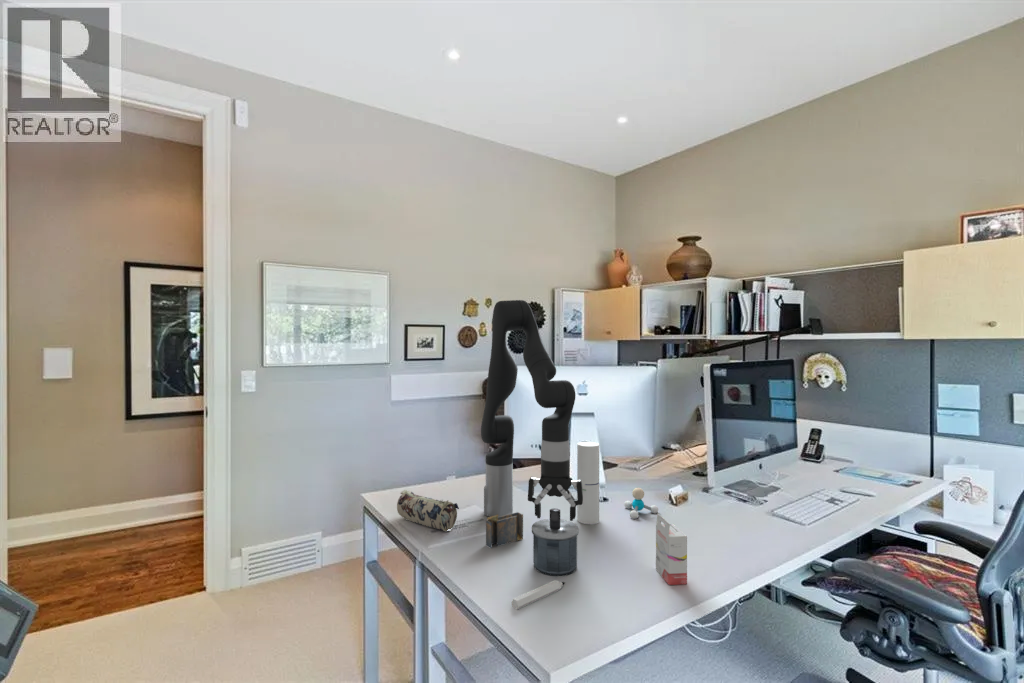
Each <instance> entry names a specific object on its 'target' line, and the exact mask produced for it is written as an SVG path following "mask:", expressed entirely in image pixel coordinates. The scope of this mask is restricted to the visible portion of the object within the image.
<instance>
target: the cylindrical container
mask: <svg viewBox="0 0 1024 683" xmlns="http://www.w3.org/2000/svg"><path fill="white" fill-rule="evenodd" d="M576 444H577V445H576V446H577V447H576V448H577V449H576V450H577V451H576V452H577V453H576V454H577V456H576V460H577V461H576V462H577V464H576V466H577V468H576V470H577V472H576V474H577V475H576V477H577V478H576V479H577V480H578V479H581V480H582V491H583V503H582V505H577V506H576V515H577V516H576V519H577V521H578V522H579V523H580V524H585V525H596V524H598V523H599V522H600V443H598V442H595V441H581V442H580V441H579V442H577V443H576ZM576 499H578V498H577V497H576Z"/></svg>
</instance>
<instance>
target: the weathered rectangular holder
mask: <svg viewBox="0 0 1024 683" xmlns="http://www.w3.org/2000/svg"><path fill="white" fill-rule="evenodd" d="M523 539H524V514H523V513H521V512H519V511H516V512H513V513H512V514H508V515H504V516H500V517H498V514H497V515H496V516H491V517H489V516H488V517H487V519H486V520H485V545H486V547H488V548H490V549H492V548H493V546H492V545H493V544H496V547H500V546H503V545H506V544H510V543H513V542H517V541H520V540H523Z"/></svg>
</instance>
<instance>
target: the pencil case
mask: <svg viewBox="0 0 1024 683" xmlns="http://www.w3.org/2000/svg"><path fill="white" fill-rule="evenodd" d="M399 494H400V496H399V498H398V499H397V502H396V509H397V513H398V515H399V516H401V517H402V518H403V519H405V520H406V521H409V522H413V523H415V522H416V523H415V524H418V523H419V525H421V524H422V526H425V525H426V526H425V527H428V526H430V527H429V528H432V527H433V529H436V528H437V529H438V530H440V529H442V530H441V531H444V532H445V531H447V530H448V529H451V528H452V527H453V528H454V525H455V524H456V522H457V518H458V510H459V509H460V507H459V505H458V503H453V502H452V501H449V500H444V499H443V498H442V499H440V500H439V499H436V498H432V497H429V496H425V495H424V496H423V495H418V494H415V493H414V492H413V491H410V490H408V489H403V490H402V491H401V492H400V493H399ZM437 529H436V530H437Z"/></svg>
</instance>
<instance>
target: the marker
mask: <svg viewBox="0 0 1024 683" xmlns="http://www.w3.org/2000/svg"><path fill="white" fill-rule="evenodd" d="M565 584H566V582H565V581H558V580H556V579H554V580H553V581H550V582H548V583H546V584H544V585H541V586H539V587H536V588H535V589H532V590H530V591H528V592H526V593H522V594H520V595H518V596H516V597H514V598H512V600H511V606H512V607H513V608H514V609H516V610H517V611H518V610H519V609H522V608H524V607H526V606H527V605H531V604H532V603H535V602H537V601H539V600H541V599H543V598H545V597H547V596H550V595H552V594H554V593H556V592H558V591H561V589H562V587H563V586H564V585H565Z"/></svg>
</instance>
